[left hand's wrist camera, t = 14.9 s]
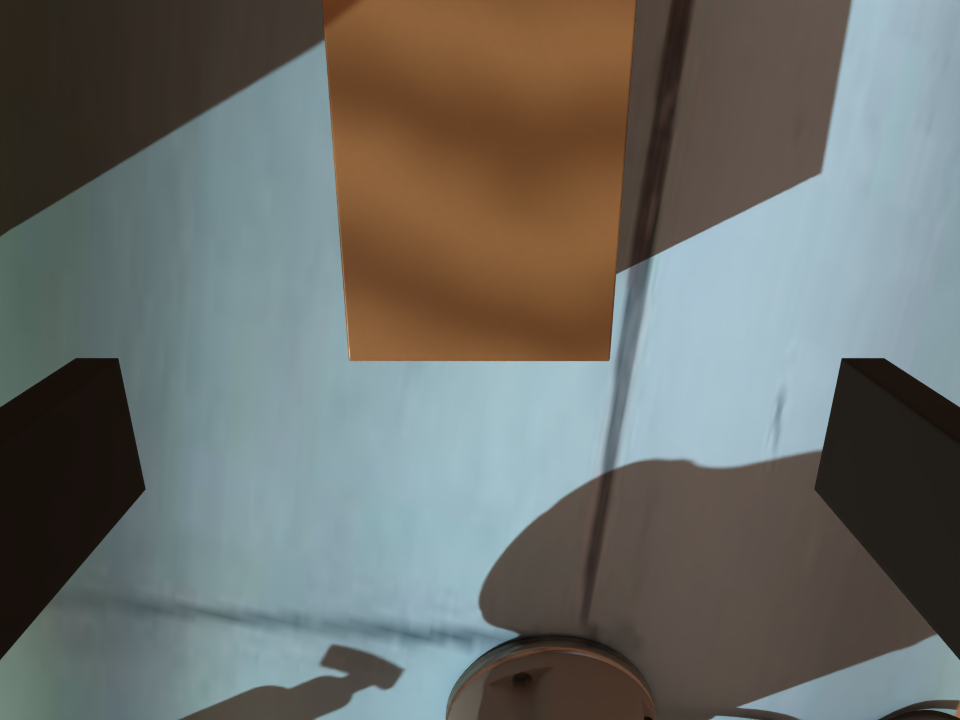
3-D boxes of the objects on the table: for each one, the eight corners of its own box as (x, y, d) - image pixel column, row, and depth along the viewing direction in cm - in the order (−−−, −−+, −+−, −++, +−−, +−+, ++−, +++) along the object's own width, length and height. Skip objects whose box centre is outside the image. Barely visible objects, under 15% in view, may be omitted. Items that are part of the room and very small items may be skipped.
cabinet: (359, -126, 31) (304, -229, 21) (599, -126, 31) (654, -228, 21) (382, 294, 38) (348, 361, 28) (577, 294, 38) (609, 361, 28)
